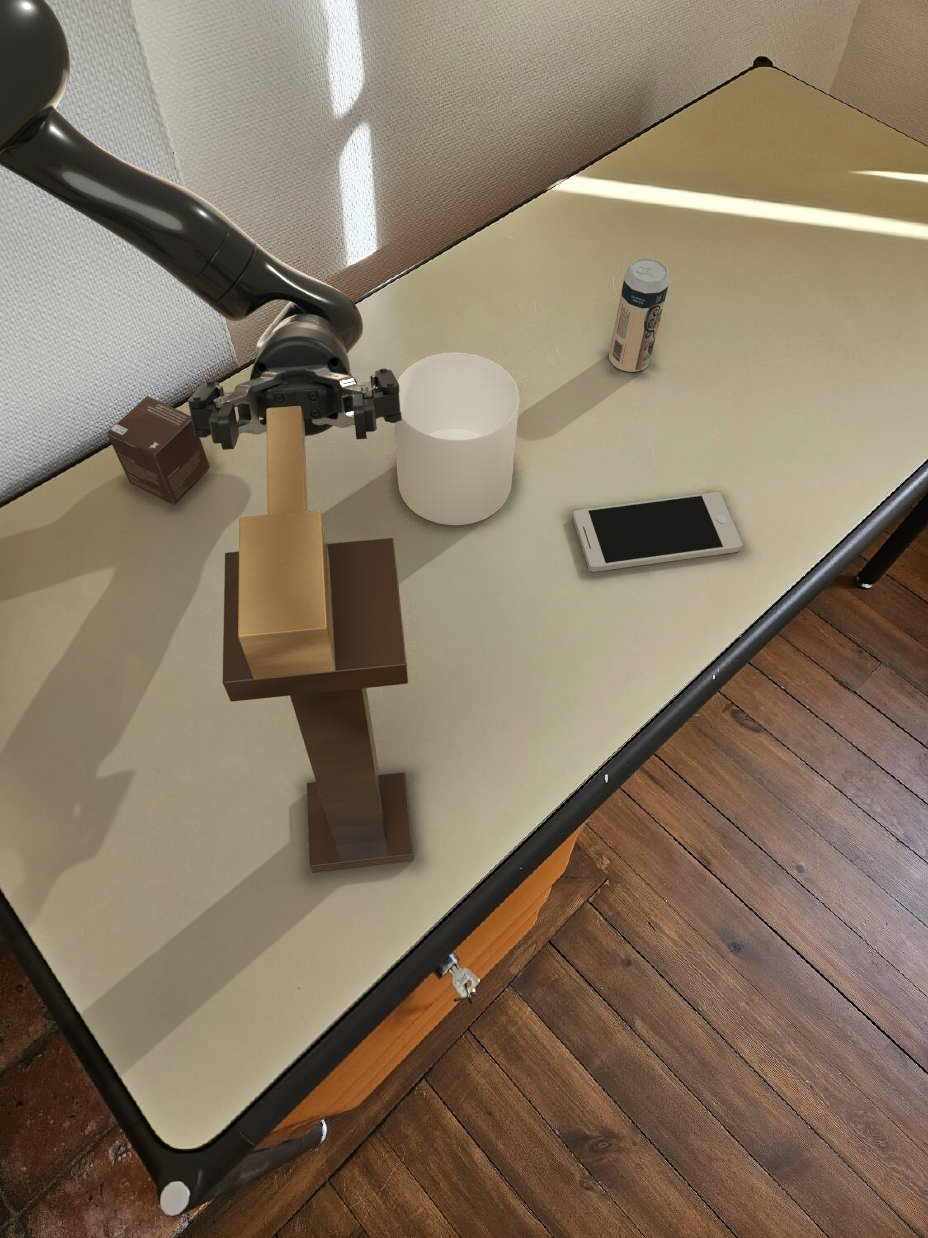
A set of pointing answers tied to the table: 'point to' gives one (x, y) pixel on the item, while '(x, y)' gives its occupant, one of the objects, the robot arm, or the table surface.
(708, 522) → the smartphone
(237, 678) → the stand
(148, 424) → the box
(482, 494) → the cup
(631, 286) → the beer can
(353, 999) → the table surface
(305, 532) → the wooden block
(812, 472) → the table surface
